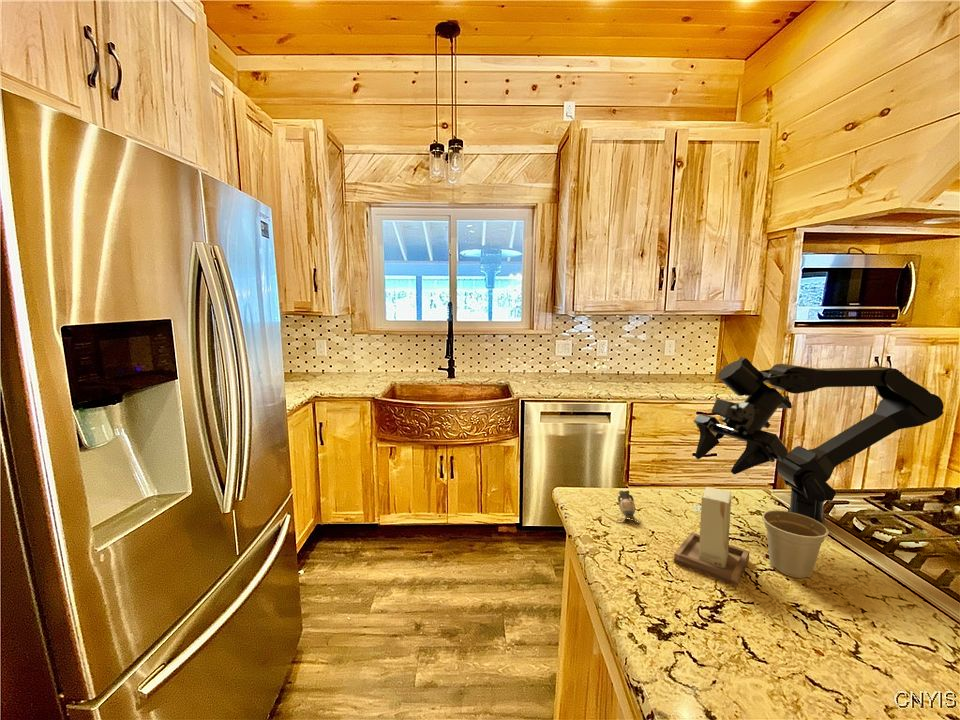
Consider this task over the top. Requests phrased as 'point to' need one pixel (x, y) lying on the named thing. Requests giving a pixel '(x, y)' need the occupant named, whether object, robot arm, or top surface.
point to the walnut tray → (690, 559)
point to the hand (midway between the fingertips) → (713, 465)
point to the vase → (626, 505)
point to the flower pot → (793, 542)
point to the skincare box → (715, 526)
